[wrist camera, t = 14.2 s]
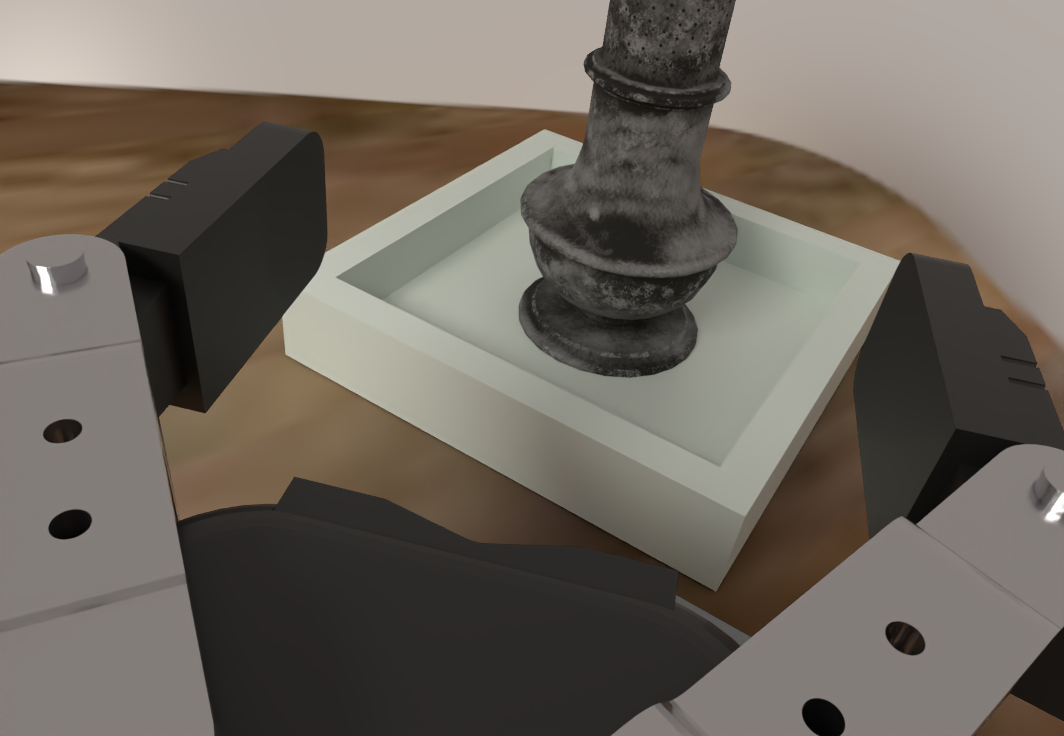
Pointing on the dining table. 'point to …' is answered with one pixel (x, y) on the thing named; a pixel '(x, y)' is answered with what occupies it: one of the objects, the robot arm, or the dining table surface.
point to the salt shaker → (633, 198)
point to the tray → (586, 398)
